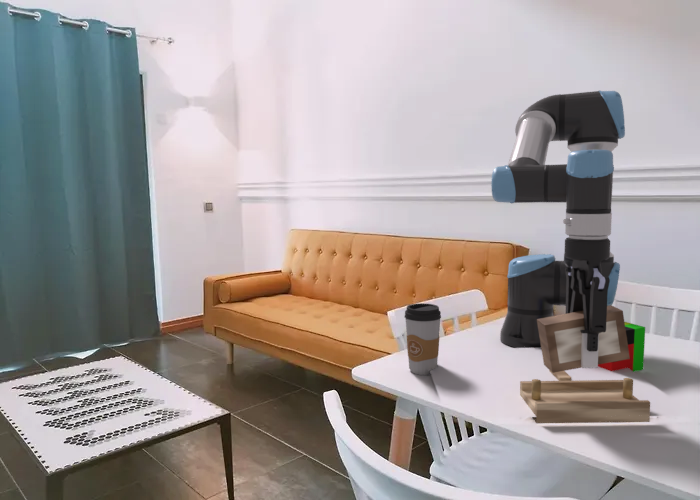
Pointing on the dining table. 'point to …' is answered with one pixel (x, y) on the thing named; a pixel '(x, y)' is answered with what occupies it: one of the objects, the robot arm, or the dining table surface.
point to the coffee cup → (422, 337)
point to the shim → (562, 376)
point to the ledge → (584, 401)
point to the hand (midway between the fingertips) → (583, 362)
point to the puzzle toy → (631, 350)
